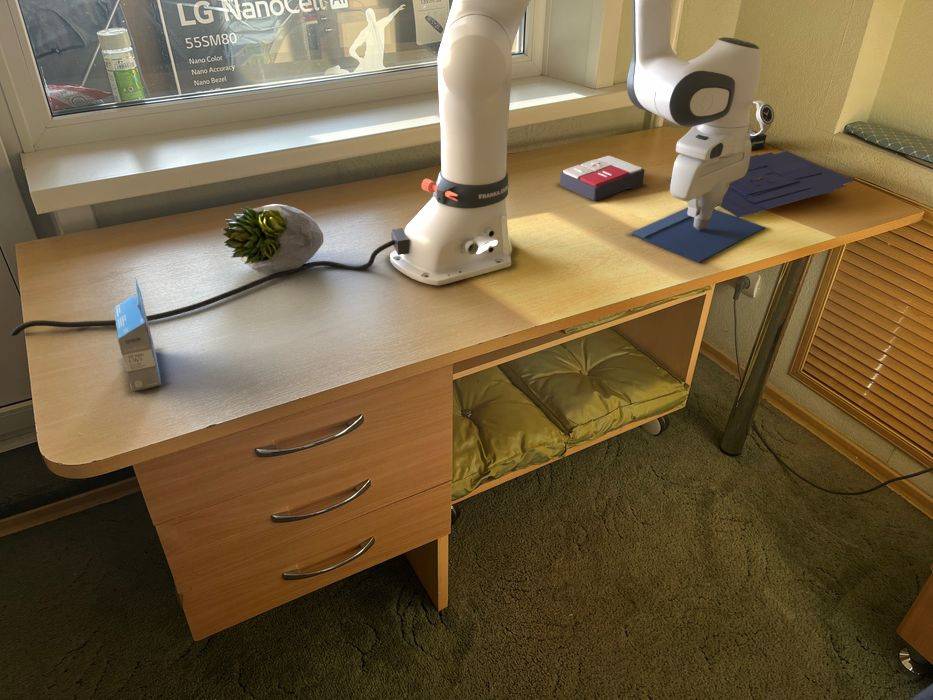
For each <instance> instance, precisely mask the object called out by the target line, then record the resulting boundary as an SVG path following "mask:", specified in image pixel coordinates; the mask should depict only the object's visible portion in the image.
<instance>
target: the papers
mask: <svg viewBox="0 0 933 700" xmlns="http://www.w3.org/2000/svg"><path fill="white" fill-rule="evenodd" d="M669 179H670V180H671V179H672V176H671V177H669ZM853 182H856V180H855V179H852V178H850V177H849V176H848V177H847V176H845V175H843V174H840V173H838V172H836V171H833V170H832V169H831V170H830V169H829V168H826V167H824V166H822V165H819V164H816V163H814V162H812V161H810V160H808V159H805V158H803V157H801V156H799V155H796V154H794V153H793V152H790V151H787V150H786V151H782V152H778V153H774V152H767V153H763V154H755V155H754V154H753V155H750V162H749V167H748V171H747V173H746V175H745V176H744V177H743V178H741V179H738V180H736V181H734V182H731V183H730V185H729V188H728V190H727V192H726V193H725V195H724V197H723V200H722V204H721V205H720V206H719V207H721V209H724V210H725V211H727V212H728V213H730V214H731V215H732V216H735V217H738V218H741V217H745V216H750V215H754V214H757V213H761V212H764V211H769V210H770V209H774V208H777V207H781V206H784V205H788V204H792V203H795V202H798V201H802V200H807V199H809V198H813V197H817V196H822V195H826V194H829V193H832V192H836V190H838V189H842V188H847V185H846V184H849V183H853Z"/></svg>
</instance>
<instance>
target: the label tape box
mask: <svg viewBox="0 0 933 700" xmlns="http://www.w3.org/2000/svg"><path fill="white" fill-rule="evenodd" d="M133 278H134V283H135V294H134V295H131V297H128V298H127V299H125V300H123V301H122V302H120V303H118V304H117V305H115V306H114V309H113V310H114V318H115V319H114V320H116V325H115V327H116V336H117V343H118V346H119V350H120V354H121V356H122V361H123V364H124V367H125V372H126V374H127V378H128V381H129V386H130V388H131V391H132V392H134V391H141V390H147V389H150V388H155V387H158V386H161V385H162V381H161V380H162V379H161V373H160V368H159V363H158V358H157V353H156V349H155V345H154V341H153V336H152V332H151V329H150V324H149V321H148V320H147V316H148V315H147V313H146V309H145V306H144V301H143V296H142V292H141V288H140V286H139V284H138V280H137V278H136V276H135V275H134V276H133Z"/></svg>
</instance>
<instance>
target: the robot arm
mask: <svg viewBox="0 0 933 700" xmlns="http://www.w3.org/2000/svg"><path fill="white" fill-rule="evenodd" d="M530 2H531V0H452V4H451V7H450V11H449V14H448V18H447V21H446V24H445V28H444V32H443V35H442V39H441V41H440V46H439V48H438V53H437V83H438V84H437V85H438V86H437V87H438V105H439V106H438V107H439V120H440V163H441V165H440V167H441V168H440V169H441V170H440V172H439V173H438V176H437V179H436V181H433V180H431V179H430V178H425V179H423V180H422V182H421V184H420V185H421V189H422V190H423V191H424V192H428V193H429V194H432V197H431V198H430V200H429V201H428V202H427V203H426V204H425V205H424V207H422V209H420V211H419V212H418V213H417V214H416V215H415V216H414V217H413V218H412V219H411V220H410V222H409V223H408V224H406V226H405V229H403V227H402V228H401V227H400V228H391V229H390V235H391V237H390V238H391V240H390V241H387V242H385V243H383V244H381V245H379V246H378V247H377V248H376V249H374V250H373V251H372V253H371V255H370V257H369V260H368V261H367V262H366V263H364V264H360V265H349V264H344V263H340V262H336V261H330V260H316V261H310V262H306V263H305V264H303V265H302V266H301V267H300V268H296V269H292V270H287V271H282V272H278V273H274V274H272V275H268V276H267V275H265V276H264V277H261V278H258V279H256V280H254V281H251V282H249V283H245V284H244V285H242V286H239V287H236V288H234V289H230V290H228V291H226V292H223V293H220V294H218V295H215V296H213V297H210V298H208V299H205V300H202V301H199V302H195V303H193V304H189V305H186V306H183V307H179V308H175V309H171V310H168V311H164V312H159V313H154V314H150V315H146V316H147V320H148V322H151V321H156V320H162V319H166V318H170V317H174V316H177V315H181V314H185V313H188V312H191V311H194V310H197V309H200V308H203V307H206V306H208V305H209V306H210V305H211V304H214V303H216V302H219V301H222V300H224V299H227V298H230V297H232V296H235V295H238V294H240V293H243V292H245V291H248V290H250V289H252V288H254V287H257V286H259V285H262V284H264V283H267V282H269V281H273V280H275V279H278V278H281V277H283V276H286V275H289V274H292V273H295V272H298V271H300V270H301V271H302V270H304V269H309V268H314V267H321V266H323V267H333V268H337V269H345V270H352V271H364V270H366V269H369V268H371V267H372V266H373V264H374V262H375V259H376V257H377V256H378V255H379V254H380V253H381V252H382V251H384V250H386V249H388V248H390V247H392V246H393V248H394V250H393V251H391V252H390V254H389V261H390V263H391V265H392V266H393V267H394V268H395V269H397V270H398V271H399V272H400V273H402V274H404V276H407V277H409V278H410V279H412V280H414V281H417V282H420V283H423V284H426V285H431V286H437V287H438V286H444V285H447V284H448V285H449V284H451V283H455V282H458V281H463V280H466V279H469V278H474V277H477V276H480V275H481V276H482V275H485V274H489V273H492V272H495V271H498V270H503V269H506V268H509V267H511V266H512V258H511V254H512V252H513V246H512V243H511V239H510V234H509V227H508V226H509V225H508V215H507V197H508V195H509V185H510V184H509V173H508V171H507V162H508V157H507V156H508V137H509V135H508V134H509V119H510V103H511V87H512V71H513V70H512V69H513V55H512V52H513V46H514V42H515V39H516V37H517V34H518V31H519V29H520V26H521V24H522V21H523V18H524V16H525V14H526V11H527V9H528V8H529V7H528V6H529V4H530ZM672 2H673V0H632V1H631V4H632V5H631V6H632V7H631V9H632V11H631V12H632V53H631V61H630V65H629V70H628V73H627V78H626V90H627V91H626V92H627V95H628V98H629V100H630V102H631V103H632V104H633V105H634V106H635V107H636V108H637V109H639V110H642V111H646V112H648V113H651V114H654V115H656V116H658V117H660V118H662V119H664V120H666V121H669V122H671V123H673V124H675V125H678V126H681V127H685V128H690V129H689V130H688V132H687V133H686V134H684V135H683V136H682V137H681V138H679V139H678V141H677V142H676V145H675V153H678V155H677V156H676V158H675V160H674V164H673V168H672V174H671V177H672V179H671V178H670V188H669V191H670V192H669V193H670V195H671V196H672V197H673V198H675V199H677V200H680V201H683V202H686V203H687V208H688V212H687V214H688V215H689V216H691V217H696V216H698V215H699V214H700V211H701V207H700V206H699V202H698V200H700V199H701V195H704V194H706V193H708V192H710V191H711V190H712V189H713V187H714V186H715V185H716V183H717V182H719V181H723V182H724V184H725V193H726V192H727V190H728V188H729V185H730V183H731V182H734V181H736V180H738V179H741V178H743V177H744V176H745V175H746V173H747V171H748V167H749V162H750V156H752V150H751V147H752V145H751V141H750V140H749V139H750V133H749V131H748V128H749V123H750V124H751V115H750V114H751V109H752V105H753V104H752V103H753V101H756V97H757V93H758V89H759V83H760V79H761V71H762V62H763V61H762V60H763V56H762V51H761V48H760V47H759V46H758V45H757V44H755V43H752V42H750V41H747V40H741V39H738V38H734V37H721V38H720V37H719V38H717V39H716V40H715V42H714V44H713V45H712V46H710V48H708V49H707V50H706V51H705V52H703V53H701V54H700V55H699V56H696V57H695V58H692V59H690V60H686V59H684V58H681V57H679V56H678V55H677V54H676V53H675V51H674V50H673V48H672V45H671V26H672V25H671V23H672V22H671V20H672V19H671V18H672ZM722 200H723V199H722ZM722 200H721V201H720V202H719V204H718V205H717V206H716V207H715V208H717V207H721V206H720V205H721V204H722ZM111 326H116V319H109V320H108V319H107V320H84V321H83V320H82V321H57V320H44V319H43V320H42V319H40V320H39V319H38V320H37V319H36V320H29V321H25V322H23V323H21V324H19V325H18V326H17V325H16V327H15V328H14V329H12V331H11V332H10V334H9V335H10V337H14V336H17V335H19V334H20V333H21V332H22V331H23V330H25V329H29V328H32V327H54V328H86V327H87V328H88V327H89V328H90V327H111Z"/></svg>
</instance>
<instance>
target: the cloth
mask: <svg viewBox="0 0 933 700" xmlns="http://www.w3.org/2000/svg"><path fill="white" fill-rule="evenodd" d="M687 212H688V207H685V208H684V209H682V210H679V211H677V212H674V213H673V214H669V215H668V216H666V217H663V218H661V219H659V220H656V221H654V222H652V223H650V224H647V225H645V226H642V227H641V228H639V229H636V230H634V231H632V233H631V236H633V237H636V238H637V239H641V240H643V241H646V242H648V243H651V244H652V245H655V246H658V247H660V248H662V249H665V250H667V251H669V252H672V253H675V254H677V255H679V256H682V257H684V258H686V259H689V260H691V261H694V262H697V263H699V264H700V263H703V262H705V261H706V260H708V259H711V258H712V257H714V256H716V255H718V254H720V253H722V252H723V251H726V250H728V249H730V248H731V247H733V246H735V245H737V244H739V243H741V242H743V241H745V240H747V239H748V238H750V237H752V236H754V235H756V234H758V233H760V232H762V231H764V230H766V227H765V226H764V225H760V224H757V223H755V222H752V221H749V220H746V219H743V218H741V217H736V216H735V215H733V214H729V213H727V212H723V211H720V210H717V209H714V210H713V212H712V215H711V218H710V219H709V222H708V226H707V228H706V229H703V230H701V231H699V230H697V229H696V228H695V227H694V226H693V225H694V218H695V217H691V216H689V215H688V214H687Z"/></svg>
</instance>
